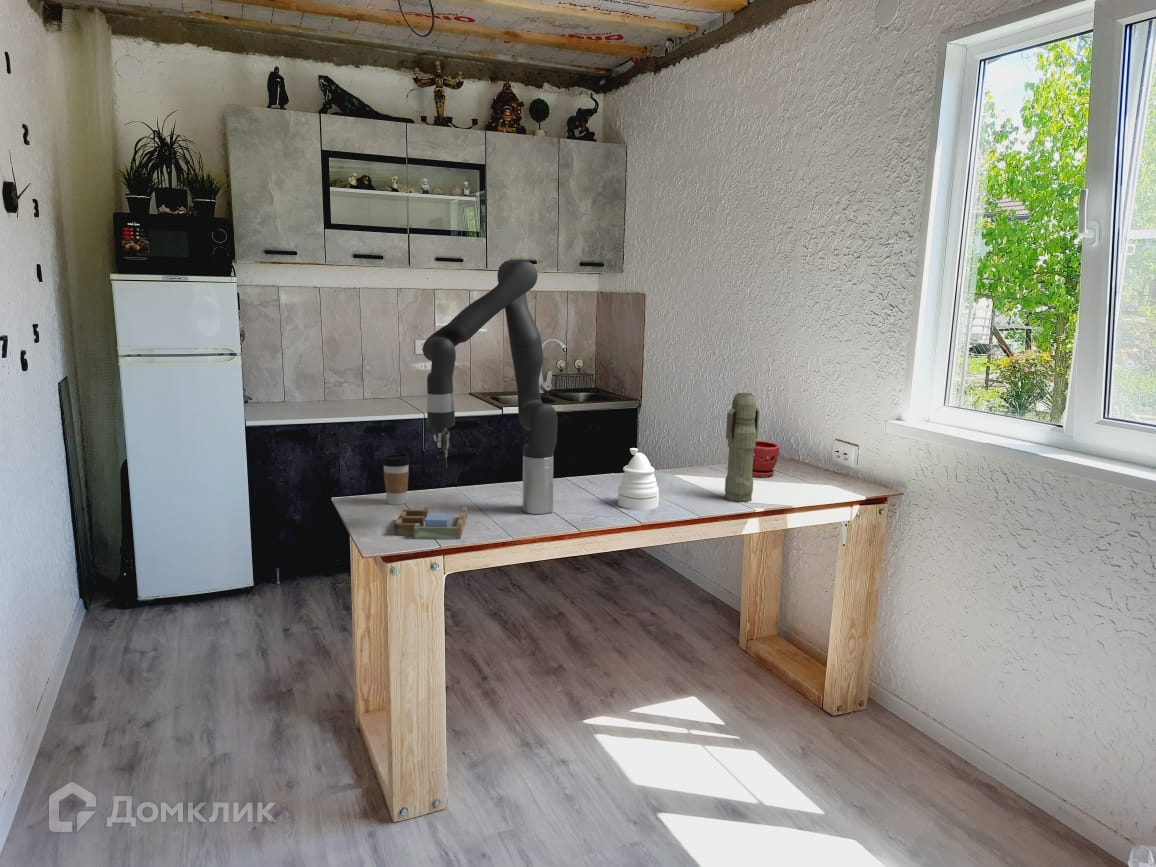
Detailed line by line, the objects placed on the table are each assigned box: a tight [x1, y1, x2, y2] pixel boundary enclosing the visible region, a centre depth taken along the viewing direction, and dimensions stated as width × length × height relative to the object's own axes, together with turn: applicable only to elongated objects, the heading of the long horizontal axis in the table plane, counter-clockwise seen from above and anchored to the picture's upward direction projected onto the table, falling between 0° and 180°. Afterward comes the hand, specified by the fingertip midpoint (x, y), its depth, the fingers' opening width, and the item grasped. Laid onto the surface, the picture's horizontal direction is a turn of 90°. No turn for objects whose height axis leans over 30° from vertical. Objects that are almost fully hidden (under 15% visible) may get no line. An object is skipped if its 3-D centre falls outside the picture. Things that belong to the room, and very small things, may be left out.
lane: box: [393, 506, 468, 540], centre depth 220 cm, size 20×18×3 cm
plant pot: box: [752, 440, 780, 478], centre depth 292 cm, size 13×13×12 cm
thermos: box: [724, 392, 760, 503], centre depth 254 cm, size 9×12×35 cm
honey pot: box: [617, 447, 660, 511], centre depth 247 cm, size 13×13×18 cm
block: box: [424, 513, 451, 527], centre depth 214 cm, size 6×6×5 cm
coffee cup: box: [381, 453, 411, 506], centre depth 243 cm, size 8×8×15 cm
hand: (442, 469), depth 220 cm, fingers closed
